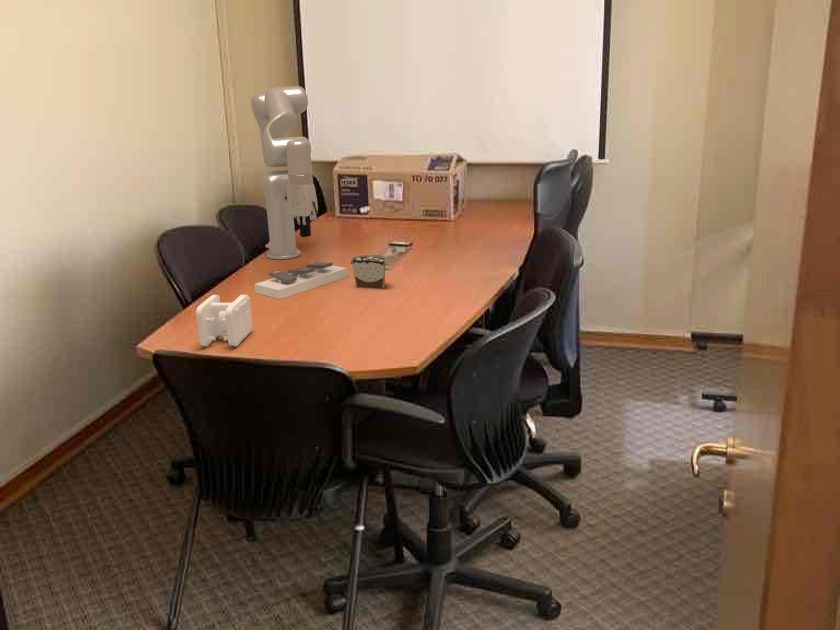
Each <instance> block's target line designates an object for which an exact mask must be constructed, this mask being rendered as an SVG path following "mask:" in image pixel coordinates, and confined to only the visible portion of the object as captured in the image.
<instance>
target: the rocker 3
mask: <svg viewBox="0 0 840 630" xmlns="http://www.w3.org/2000/svg"><path fill="white" fill-rule="evenodd" d="M333 265H334V264H333V262H320V261H319V262H312V263H308V264H306V265H305V268H326V267H330V266H333Z"/></svg>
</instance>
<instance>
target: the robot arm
mask: <svg viewBox="0 0 840 630" xmlns="http://www.w3.org/2000/svg"><path fill="white" fill-rule="evenodd" d="M308 106H309V99H308V94H307V91H306V90H305V88H304V87H302V86H300V85H290V86H276V87H275V86H274V87H272V88H270V89H268V90H267V91H263V92H258V93H255V94H254V95H252V97H251V99H250V107H251V111H252V114H253V117H254V118H255V122H256V123H257V125H258V128H259V132H260V144H261V151H262V159H263V163H264V165H265V166H266V167H269V168H280V167H287V169H281V170H271V171H268V172H266V173H265V174H264V175H262V177H261V188H262V192H263V196H264V199H265V200H264V201H265V207H266V215H267V225H268V237H269V241H268V243H266V244H265V248H266V249H269V250H268V252H267V253H266V257H267V258H269V259H272V260H289V259H295V258H297V257H299V256H302V255H301V254H302V251H301V250H300V249H298V248H297V242H296V230H295V229H296V228H295V220H294V219H296V221H297V222H296V223H297V224H298V225H299V236H300V237H301V238H307V237H310V236H311V235H312V230H311V224H312V222H313V221H315V220H317V219H318V218H317V214H318V212H319V209H318V208H319V205H318V198H317V193H316V187H315V184H314V179H313V167H312V166H313V165H312V164H313V163H312V157H311V156H312V145H311V142H310V140H309V139H308V138H307V137H305V136H289V137H286V136H285V134H286V133H290V131H291V130H293V129H294V128H295V126H296V125H297V121H298V119H297V118H298V117H297V115H301V114H302V113H304V112H305V111H306V110H307V109H308Z"/></svg>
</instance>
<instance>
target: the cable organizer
mask: <svg viewBox="0 0 840 630" xmlns="http://www.w3.org/2000/svg"><path fill="white" fill-rule="evenodd" d="M195 316H196V317H195V318H196V326H197V332H198V341H199V344H200V346H204V347H205V348H207V347H209V345H211V344H212V342H213V341H216V340H217V339H216V338H218V337H220V336H222V337H223V341H224V342H226V341H227V342H228V345H229V346H230V347H231V346H233V347H239V344H241V342H242V341H243V340H244V339H246V337H247V336H249V334H251V331H252V329H253V319H252V309H251V297H250V296H249V295H248V294H240V295H239V296H238V297H237V298H236V299H235V300H233V301H232V302H221V297H220V295H219V294H212V295H210V296H209V297H208V298H207V299H205V300H204V301H203V302H202V303H200V304H199V305H198V306H197V308H196V311H195Z"/></svg>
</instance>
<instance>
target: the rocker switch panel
mask: <svg viewBox="0 0 840 630" xmlns="http://www.w3.org/2000/svg"><path fill="white" fill-rule="evenodd" d="M288 274H290V275H292V276H294V277H297V281H293V282H290V283H285V282H283V281H281V280H278V279H276V278H274V277H272V278H270V279H266V280H264V281H259V282H257V283H254V293H255V294H259V295H262V296H266V297H269V298H273V299H278V300H281V299H284V298H287V297H290V296H294V295H296V294H299V293H302V292H306V291H309V290H312V289H314V288H319V287H320V286H321V287H322V286H323V285H327V284H329V283H333V282H335V281H339V280H343V279H345V278H348V268H347V267H344V266H343V267H341V266H337V265H334V264H333V266H330V267H326V268H315V271H314V272H310V273H307V274H293V273H288Z"/></svg>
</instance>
